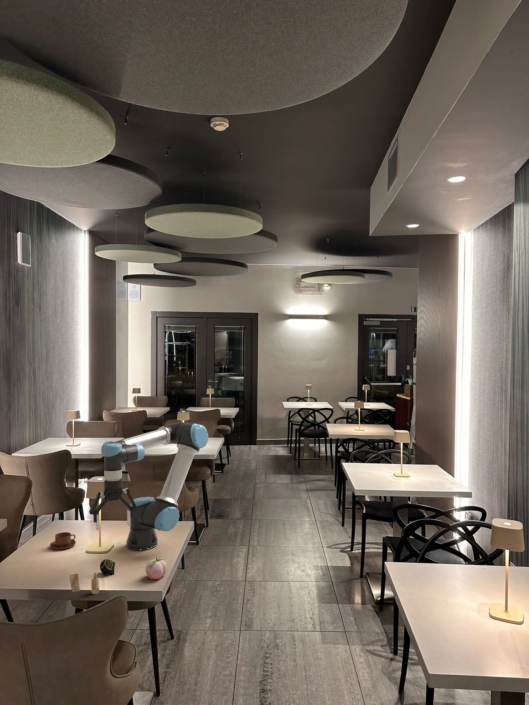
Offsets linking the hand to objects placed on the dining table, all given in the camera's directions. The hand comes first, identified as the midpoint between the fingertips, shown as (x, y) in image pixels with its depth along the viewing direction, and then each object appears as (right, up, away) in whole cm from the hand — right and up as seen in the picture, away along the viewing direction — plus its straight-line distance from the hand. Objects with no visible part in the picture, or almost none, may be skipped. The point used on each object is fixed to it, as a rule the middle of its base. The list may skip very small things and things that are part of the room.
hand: (113, 527), depth 240 cm
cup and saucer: (-33, -20, +30) cm, 49 cm away
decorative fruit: (+20, -20, -8) cm, 30 cm away
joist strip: (-12, -20, -13) cm, 27 cm away
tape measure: (-1, -20, -3) cm, 20 cm away
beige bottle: (-1, -20, -22) cm, 30 cm away
